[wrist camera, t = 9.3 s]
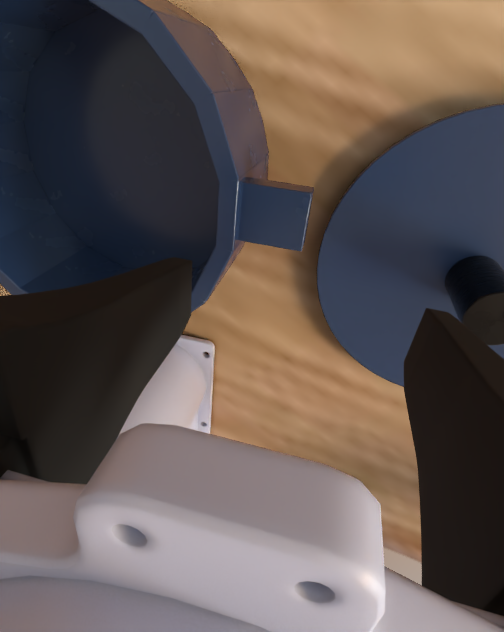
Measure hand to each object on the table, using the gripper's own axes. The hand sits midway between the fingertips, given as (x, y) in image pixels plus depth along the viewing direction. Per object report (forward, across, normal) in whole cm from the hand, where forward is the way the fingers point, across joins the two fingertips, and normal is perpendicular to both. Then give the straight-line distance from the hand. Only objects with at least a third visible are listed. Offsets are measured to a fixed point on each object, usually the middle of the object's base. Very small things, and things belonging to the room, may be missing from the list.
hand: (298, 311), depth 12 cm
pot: (+10, +10, -1) cm, 15 cm away
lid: (+10, -8, +2) cm, 13 cm away
